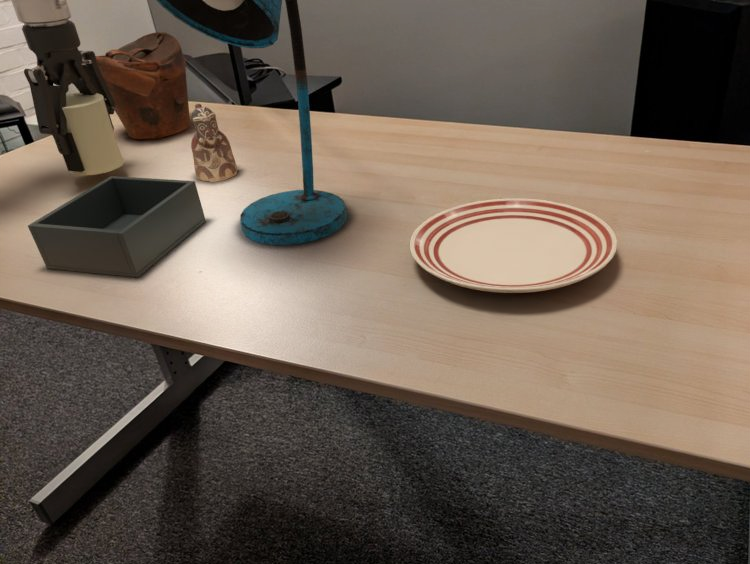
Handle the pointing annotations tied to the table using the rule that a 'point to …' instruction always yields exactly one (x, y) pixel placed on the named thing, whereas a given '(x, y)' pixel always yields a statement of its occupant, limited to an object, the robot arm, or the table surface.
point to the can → (92, 133)
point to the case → (148, 85)
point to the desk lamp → (308, 206)
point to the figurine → (211, 148)
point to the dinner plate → (513, 245)
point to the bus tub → (119, 226)
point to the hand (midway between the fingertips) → (94, 160)
